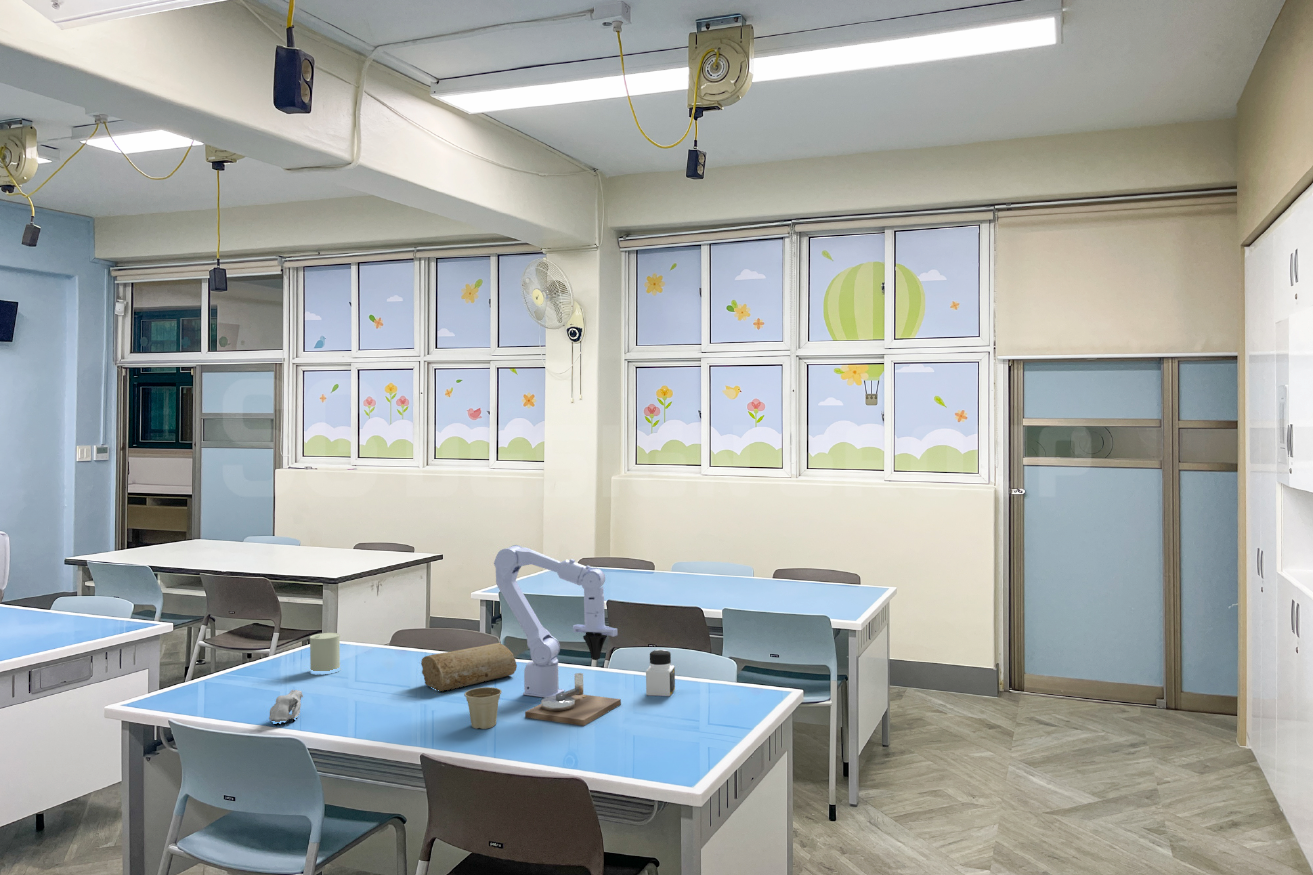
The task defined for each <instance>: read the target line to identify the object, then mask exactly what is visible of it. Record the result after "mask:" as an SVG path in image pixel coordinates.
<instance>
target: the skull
mask: <svg viewBox="0 0 1313 875" xmlns="http://www.w3.org/2000/svg"><path fill="white" fill-rule="evenodd" d="M302 698H304V695H303V691H301V690H299V689H295V690H294V689H292V690H290V691H289V693H288V694H286V695H278V696H277V697H276V699H275V703H274V705H272V706H271V708H270V709H269V716H268V720H270V722H271V721H275V722H280V721H287V720H288V721H289V720H293V719H294V718H295V717H297V716H298V715H299V716H300V713H301V706H302V703H301V701H302V700H301V699H302ZM290 712H291V714H290ZM288 721H287V722H288Z"/></svg>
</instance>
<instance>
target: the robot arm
mask: <svg viewBox="0 0 1313 875" xmlns="http://www.w3.org/2000/svg"><path fill="white" fill-rule="evenodd" d="M493 565H494V568H495V583H496V586H497V588H498V589H499V591H500V593H501V595H502V597H503V599H505V601H506V603H507V605H508V607H509V608H510V610H511V612H512V614H513V616H514V617H515V619H516V620H517V622H518V624H519V626H520V627H521V629H522V631H523V633H524V634H525V636H526V640H527V641H526V644H527V645H526V646H527V647H528V649H529V652H530V658H531V660H532V661H528V662H527V664H526V665H525V668H524V672H523V674H524V676H523V677H524V678H523V679H524V681H523V682H524V683H523V684H524V692H523V693H522V696H523V695H524V696H528V697H529V696H531V697H539V698H543V699H544V698H546V697H550V696H556V694H561V693H563V692H566V690H565V689H562V688H561V689H560V688H559V659H558V657H557V656H558V655H559V653H560V651H561V644H560V642H559V640H558V639H557V638H555V637H554V636H552V634H551V633H550V631H549V630H547V629H546V628H545V627H544V626H543V624H542V623H541V622H540V620H539V617H538V616H537V614H536V613H535V611H534V609H533V608H532V607H531V605H530V603H529V601H528V599H527V597H526V596H525V594H524V593H523V591H522V589H521V588H520V586H519V584H518V582H517V577H518V575H519V572H520V569H521V568H522V567H525V566H529V565H532V566H536V567H539V568H542V569H544V570H548V571H551V572H554V573H557V575H558V578H560V579H561V580H564V581H567V582H570V583H572V584H575V585H578V586H581V587H582V588H583V607H584V608H583V609H584V610H583V611H584V624H574V625H572V633H584V634H585V635H583V636H582V638H583V641H585V643H586V645H587V648H588V651H589V653H590V658H591V660H592V661H597V660H600V658H601V653H602V651H603V650H602V649H603V647H604V646H603V645H604V644H605V641H606V639H607V637H608V636H610V637H613V638H614V637H616V636H618V635H619V634H618V632H619V631H618V628H614V627H611V626H608V625H606V622H605V621H606V620H605V619H606V618H605V595H604V584H605V583H606V575H605V573H604V571H603V570H601V569H599V567H593V568H591V565H588V564H587V565H583V564H581V563H578V562H576V559H573V558H569V559H564V560H562V561H560V560H558V559H556V558H553V557H551V556H548V555H546V554H543V553H541V552H538V551H537V550H534V549H531V548H530V547H526V546H524V547H522V545H518V544H514V545H511V546H509V547H507V548H503V549H500V550H499V551H498V552H497V554H496V556H495V559H494V562H493Z"/></svg>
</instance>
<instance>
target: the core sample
mask: <svg viewBox="0 0 1313 875" xmlns="http://www.w3.org/2000/svg"><path fill="white" fill-rule="evenodd" d="M420 661H421V663H420V664H421V667H422V671H421V674H422V675H423V678H424V679H423V680H424V683H425V685H426V686H427V685H428V686H430V687H432V688H434V689H436V690H439V691H442V692H445V691H444V690H447V691H450V689H451V690H455V688H456V689H460V688H464V687H467V686H471V685H476V684H480V683H484V681H485V682H487V681H493V680H497V679H501V678H505V677H508V676H512V675H514V674H515V672H516V671H517V662H516V658H515V657H514V653H512V651H511V650H510V649H509V648H508V647H507V646H506V645H504V644H502V643H500V642H496V643H490V644H485V645H481V646H475V647H468V648H464V649H458V650H453V651H448V652H447V651H445V652H440V653H434V654H433V653H432V654H429V655H426V656H424V657H422V658H421V660H420ZM428 686H427V687H428ZM463 686H464V687H463ZM459 687H460V688H459Z"/></svg>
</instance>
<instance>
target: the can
mask: <svg viewBox="0 0 1313 875" xmlns="http://www.w3.org/2000/svg"><path fill="white" fill-rule="evenodd" d="M340 636H341V635H340V633H338V632H337V633H336V632H322V633H317V634H313V635H311V636H309V653H310V657H309V658H310V663H309V664H310V665H309V666H310V669H311V670H313V671H330V670H333V669H337V668H339V667H340V668H341V662H340V661H341V660H340V658H341V656H340V655H341V654H340V651H341V650H340V648H341V646H340V644H341V643H340V638H341V637H340Z"/></svg>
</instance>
